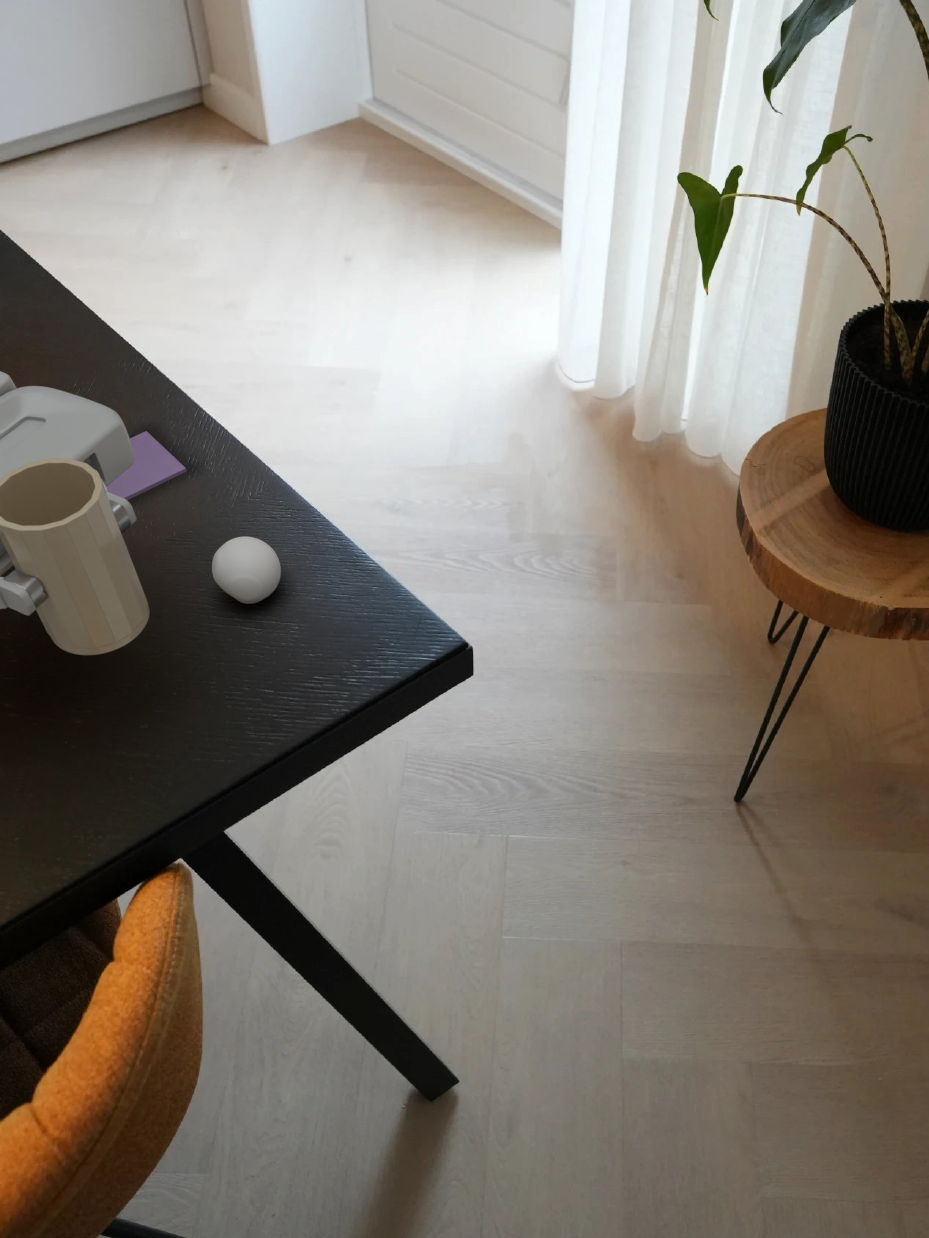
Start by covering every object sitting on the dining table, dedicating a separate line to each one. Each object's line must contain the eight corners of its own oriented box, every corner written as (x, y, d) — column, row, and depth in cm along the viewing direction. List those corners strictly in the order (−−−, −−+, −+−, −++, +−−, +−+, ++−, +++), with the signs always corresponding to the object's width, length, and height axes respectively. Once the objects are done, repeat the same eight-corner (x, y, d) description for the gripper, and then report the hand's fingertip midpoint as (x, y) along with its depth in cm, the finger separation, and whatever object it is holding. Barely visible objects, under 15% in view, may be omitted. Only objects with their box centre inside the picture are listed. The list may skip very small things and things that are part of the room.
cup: (37, 656, 68) (-28, 531, 60) (62, 585, 72) (3, 458, 64) (139, 654, 68) (87, 529, 60) (158, 583, 72) (111, 457, 64)
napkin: (114, 507, 91) (113, 503, 91) (76, 467, 95) (74, 463, 94) (187, 471, 94) (185, 468, 94) (147, 434, 97) (146, 430, 97)
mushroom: (218, 578, 86) (202, 529, 83) (282, 566, 87) (269, 517, 83) (224, 624, 83) (208, 575, 80) (290, 611, 84) (277, 562, 80)
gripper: (-270, 548, 61) (-82, 638, 57) (10, 353, 72) (182, 417, 68) (-209, 629, 66) (-32, 716, 62) (44, 434, 77) (207, 497, 73)
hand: (83, 557), depth 65 cm, fingers closed on cup, 6 cm apart
